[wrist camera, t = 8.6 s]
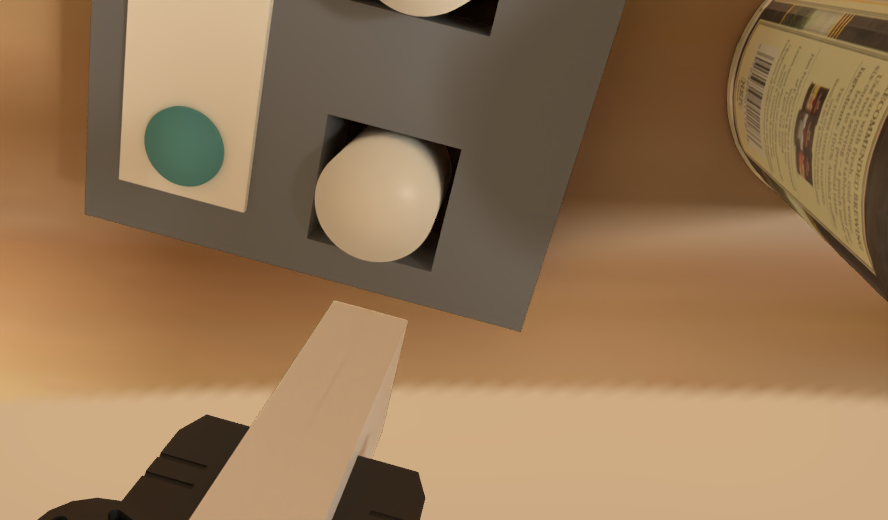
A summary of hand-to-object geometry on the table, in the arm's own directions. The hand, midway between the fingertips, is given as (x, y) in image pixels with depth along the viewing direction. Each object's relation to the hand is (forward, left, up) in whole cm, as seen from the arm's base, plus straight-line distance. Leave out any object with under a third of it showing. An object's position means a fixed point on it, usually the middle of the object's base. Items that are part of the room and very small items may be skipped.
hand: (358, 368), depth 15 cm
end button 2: (+2, +1, -17) cm, 17 cm away
